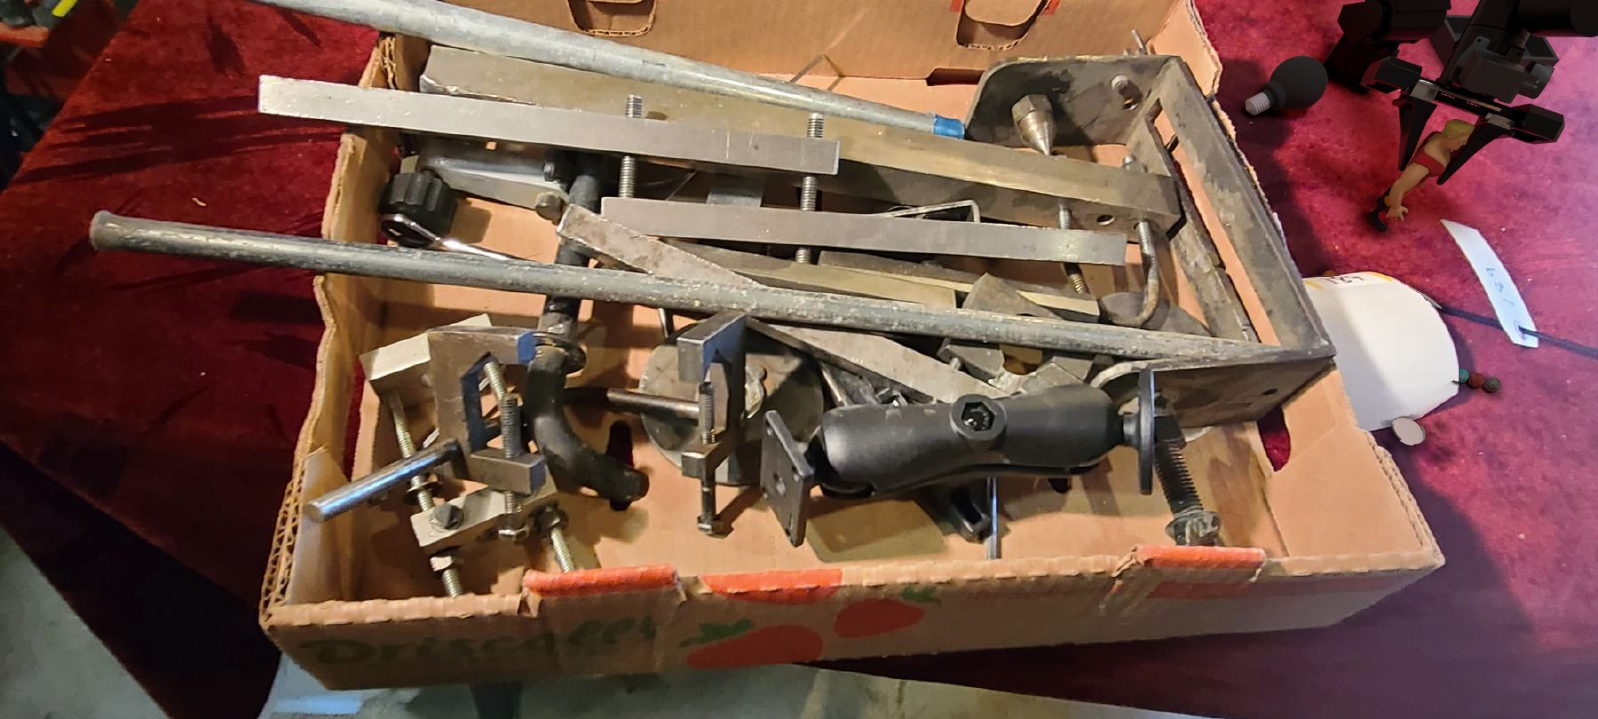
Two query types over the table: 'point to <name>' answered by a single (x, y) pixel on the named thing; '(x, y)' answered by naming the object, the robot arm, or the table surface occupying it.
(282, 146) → the table surface
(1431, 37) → the tray
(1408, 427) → the grey flat disc
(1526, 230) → the table surface
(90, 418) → the table surface
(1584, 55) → the table surface
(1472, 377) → the beads
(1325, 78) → the light bulb
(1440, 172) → the action figure
